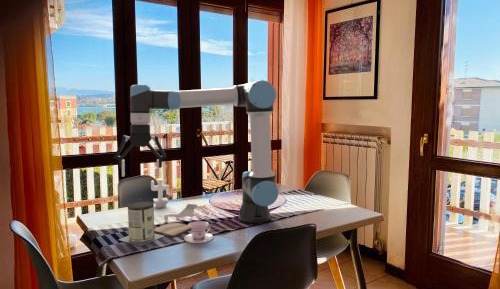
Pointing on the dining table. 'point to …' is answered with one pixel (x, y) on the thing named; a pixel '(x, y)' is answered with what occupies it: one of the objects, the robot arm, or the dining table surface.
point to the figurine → (160, 193)
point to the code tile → (126, 239)
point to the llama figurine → (186, 212)
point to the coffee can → (141, 221)
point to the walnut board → (172, 229)
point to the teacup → (198, 232)
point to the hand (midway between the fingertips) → (140, 176)
